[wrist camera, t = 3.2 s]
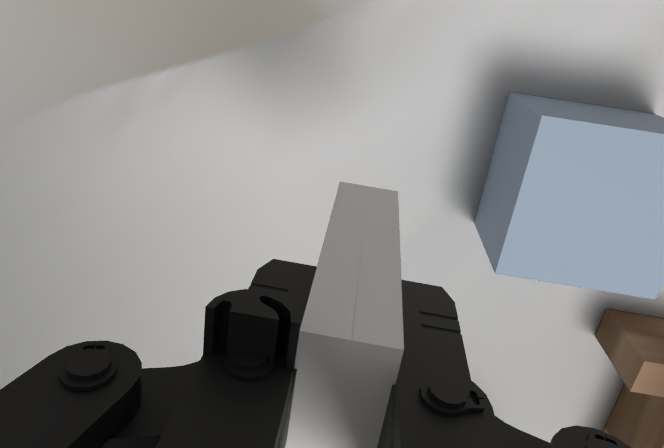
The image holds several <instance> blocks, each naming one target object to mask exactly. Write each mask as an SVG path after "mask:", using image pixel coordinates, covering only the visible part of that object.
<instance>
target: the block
mask: <svg viewBox="0 0 664 448" xmlns="http://www.w3.org/2000/svg"><path fill="white" fill-rule="evenodd" d="M474 224H475V226H476V228H477V231H478V233H479V236H480V238H481V241H482V243H483V245H484V248H485V250H486V253H487V255H488V258H489V260H490V262H491V265H492V267H493V270H494V272H495V274H501V275H507V276H513V277H519V278H525V279H531V280H538V281H544V282H550V283H556V284H562V285H568V286H575V287H581V288H587V289H593V290H599V291H605V292H611V293H618V294H624V295H630V296H636V297H642V298H648V299H655V300H656V298H657V295H658V293H659V291H660V289H661V287H662V284H663V282H664V118H663V117H660V116H658V115H656V114H651V113H644V112H638V111H631V110H625V109H618V108H611V107H605V106H598V105H592V104H585V103H579V102H572V101H565V100H559V99H552V98H546V97H539V96H533V95H526V94H520V93H513V92H509V96H508V99H507V103H506V107H505V111H504V114H503V118H502V122H501V126H500V129H499V133H498V137H497V141H496V144H495V148H494V152H493V155H492V159H491V163H490V167H489V170H488V174H487V178H486V182H485V185H484V189H483V193H482V197H481V200H480V204H479V208H478V211H477V215H476V219H475V223H474Z"/></svg>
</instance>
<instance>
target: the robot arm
mask: <svg viewBox="0 0 664 448" xmlns="http://www.w3.org/2000/svg"><path fill="white" fill-rule="evenodd" d="M460 332H461V330H460V326H459V321H458V316H457V311H456V307H455V302H454V301H453V300H452V299H451V297H450V296H449V295H448V294H447V293H446V291H445V290H444V289H443V288H442V287H439V286H433V285H428V284H422V283H416V282H411V281H405V280H401V259H400V233H399V207H398V191H392V190H386V189H380V188H374V187H368V186H362V185H357V184H351V183H345V182H340V184H339V188H338V191H337V195H336V199H335V202H334V206H333V210H332V213H331V217H330V221H329V224H328V228H327V232H326V235H325V239H324V243H323V246H322V250H321V254H320V258H319V261H318V265H317V267H316V266H310V265H304V264H299V263H293V262H287V261H282V260H276V259H273V260H271V261H270V262H268V263H267V264H265V265H264V266H262V267H260V268H259V269H258V270H257V272H256V274H255V276H254V278H253V280H252V282H251V286H250V287H249V289H244V290H237V291H230V292H227V293H225V294H222V295H220V296H218V297H215V298H214V299H213V300H212V301H211V302H210V303H209V304H208V305H207V306H206V310H205V329H204V348H203V356H202V358H201V360H200V361H198V362H195V363H191V364H188V365H184V366H176V367H166V368H145V369H142V363H141V361H140V359H139V357H138V356H137V354H136V352H135V351H133V350H131V349H130V348H128V347H126V346H125V345H123V344H119V343H114V342H109V341H86V342H82V343H78V344H75V345H71V346H67V347H65V348H63V349H61V350H59V351H57V352H55V353H53V354H51V355H49V356H48V357H46V358H45V359H44V360H42V361H41V362H39V363H38V364H36V365H35V366H34V367H32V368H31V369H29V370H28V371H27V372H25V373H24V374H22V375H21V376H19V377H18V378H17V379H15V380H14V381H12V382H11V383H9V384H8V385H7V386H5V387H4V388H2V389H1V390H0V448H631V447H630V446H628V445H627V444H625V443H624V442H622V441H621V440H619V439H618V438H616V437H614V436H612V435H610V434H607V433H605V432H602V431H600V430H597V429H595V428H588V427H582V426H572V427H567V428H562V429H561V430H560V431H559V432H558V433H556V434H555V435H554V436H553V438H552V440H551V443H549V442H546V441H544V440H542V439H539V438H537V437H535V436H532V435H530V434H527V433H525V432H523V431H520V430H518V429H516V428H514V427H512V426H510V425H508V424H506V423H504V422H503V421H502V420H500V419H499V418H497V417H496V416H495V415H494V412H493V408H492V406H491V404H490V402H489V400H488V398H487V396H486V394H485V393H484V392H483V391H482V390H481V389H480V388H479V387H478V386H477V385H476V384H475V383H474V382H472V381H471V378H470V373H469V368H468V364H467V359H466V354H465V349H464V345H463V340H462V335H461V334H460Z"/></svg>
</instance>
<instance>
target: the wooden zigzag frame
mask: <svg viewBox="0 0 664 448" xmlns="http://www.w3.org/2000/svg"><path fill="white" fill-rule="evenodd" d="M595 337H596V339H597V340H598V342H599V343H600V345H601V346H602V348H603V350H604V351H605V353H606V354H607V356H608V357H609V359H610V361H611V362H612V364H613V365H614V367H615V368H616V370H617V372H618V373H619V375H620V376H621V378H622V380H623V381H624V383H625V385H624V387H623V389H622V392H621V394H620V396H619V398H618V400H617V402H616V404H615V407H614V409H613V411H612V413H611V415H610V417H609V419H608V421H607V424H606V426H605V428H604V430H603V432H605V433H607V434H610V435H612V436H614V437H616V438H618V439H619V440H621V441H622V442H624V443H625V444H627V445H628V446H630V447H631V448H664V318H658V317H652V316H646V315H640V314H634V313H628V312H622V311H617V310H611V309H606V311H605V313H604V316H603V318H602V320H601V323H600V325H599V327H598V330H597V332H596V335H595Z"/></svg>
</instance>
